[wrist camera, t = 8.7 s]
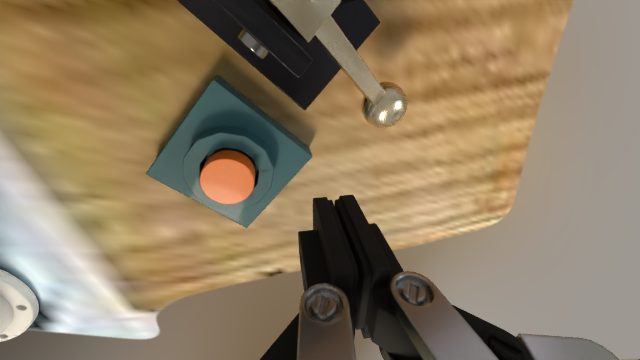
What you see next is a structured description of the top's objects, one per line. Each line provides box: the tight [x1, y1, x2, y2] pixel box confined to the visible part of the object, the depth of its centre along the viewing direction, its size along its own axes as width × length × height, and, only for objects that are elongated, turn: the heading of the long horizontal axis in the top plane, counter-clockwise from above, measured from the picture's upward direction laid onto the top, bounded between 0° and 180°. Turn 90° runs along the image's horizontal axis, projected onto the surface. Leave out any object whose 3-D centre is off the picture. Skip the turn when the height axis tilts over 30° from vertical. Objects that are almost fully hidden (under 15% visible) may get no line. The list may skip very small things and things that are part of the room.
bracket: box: [177, 0, 380, 111], centre depth 15 cm, size 12×9×12 cm
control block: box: [146, 76, 312, 228], centre depth 23 cm, size 10×10×4 cm
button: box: [200, 150, 255, 204], centre depth 21 cm, size 4×4×2 cm
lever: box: [263, 0, 407, 128], centre depth 15 cm, size 13×3×3 cm, turn 47°
